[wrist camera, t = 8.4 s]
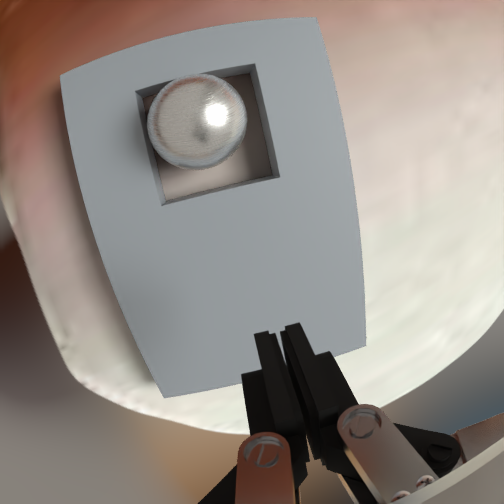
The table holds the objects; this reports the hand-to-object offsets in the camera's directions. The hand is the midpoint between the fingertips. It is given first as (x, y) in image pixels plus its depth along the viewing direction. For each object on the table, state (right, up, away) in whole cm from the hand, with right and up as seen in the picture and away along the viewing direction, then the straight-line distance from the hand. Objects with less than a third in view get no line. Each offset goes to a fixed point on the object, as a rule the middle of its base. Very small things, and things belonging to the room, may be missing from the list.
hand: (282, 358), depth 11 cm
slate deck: (-3, +6, +8) cm, 10 cm away
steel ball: (-4, +10, +4) cm, 12 cm away
